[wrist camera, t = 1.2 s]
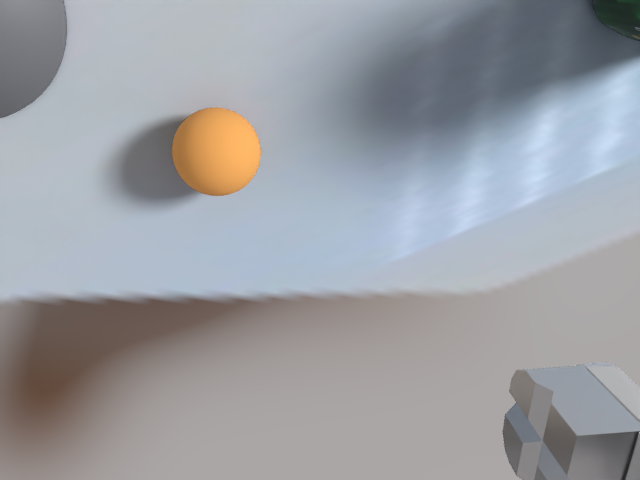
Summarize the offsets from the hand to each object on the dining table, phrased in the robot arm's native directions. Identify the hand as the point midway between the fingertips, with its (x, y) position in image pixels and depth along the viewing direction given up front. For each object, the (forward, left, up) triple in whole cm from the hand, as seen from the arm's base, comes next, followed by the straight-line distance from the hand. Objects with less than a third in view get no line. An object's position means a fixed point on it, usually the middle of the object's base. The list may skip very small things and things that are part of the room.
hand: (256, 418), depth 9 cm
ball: (+2, -3, -29) cm, 29 cm away
